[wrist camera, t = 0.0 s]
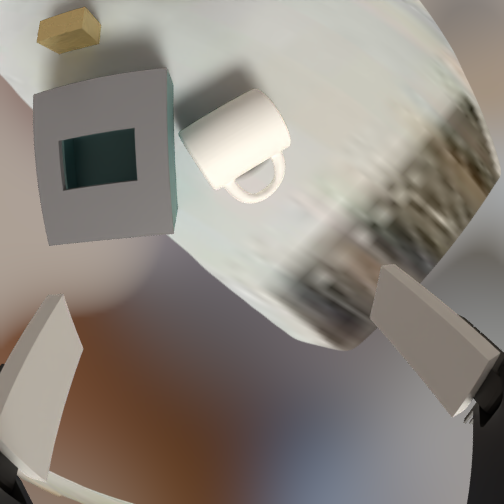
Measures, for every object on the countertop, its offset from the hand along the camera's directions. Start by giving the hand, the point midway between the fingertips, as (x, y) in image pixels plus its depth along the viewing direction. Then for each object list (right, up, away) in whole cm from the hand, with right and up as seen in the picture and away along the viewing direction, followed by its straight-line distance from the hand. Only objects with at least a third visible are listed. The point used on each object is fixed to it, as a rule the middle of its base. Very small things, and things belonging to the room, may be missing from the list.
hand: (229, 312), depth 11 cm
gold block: (-22, +30, +14) cm, 39 cm away
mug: (-1, +15, +25) cm, 29 cm away
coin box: (-16, +15, +21) cm, 30 cm away
